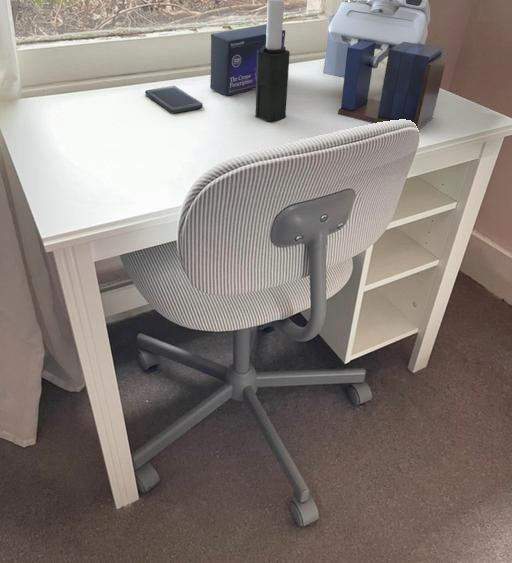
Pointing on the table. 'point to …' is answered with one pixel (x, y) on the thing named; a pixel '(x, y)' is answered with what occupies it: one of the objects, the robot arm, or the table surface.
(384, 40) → the robot arm
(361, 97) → the navy book
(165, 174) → the table surface
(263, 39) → the box
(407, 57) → the book rack
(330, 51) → the grey upright block
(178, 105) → the cell phone
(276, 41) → the candle
